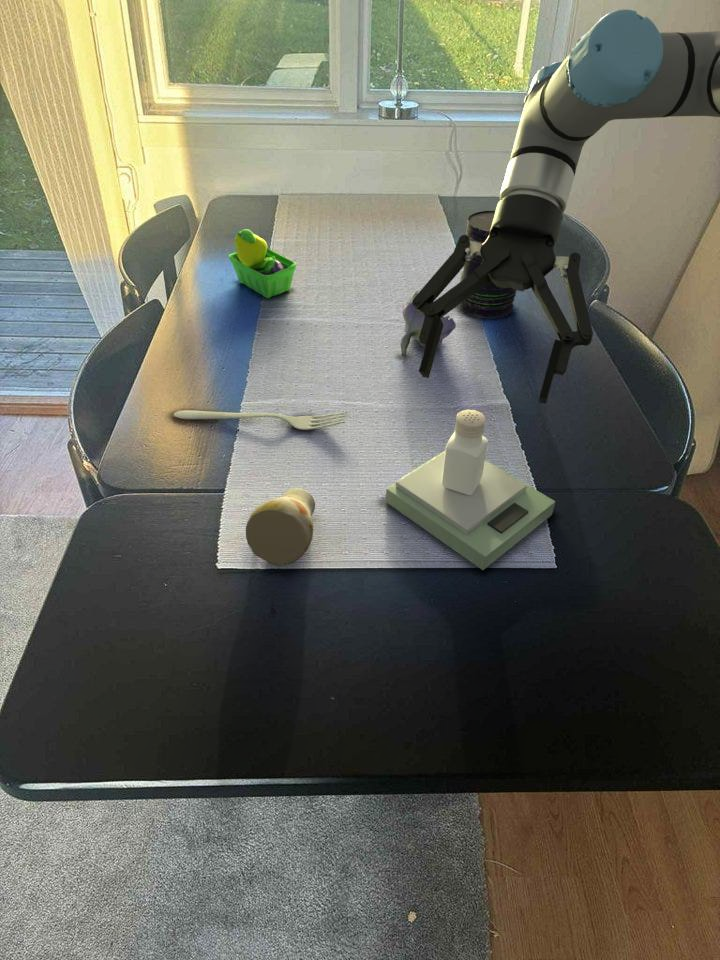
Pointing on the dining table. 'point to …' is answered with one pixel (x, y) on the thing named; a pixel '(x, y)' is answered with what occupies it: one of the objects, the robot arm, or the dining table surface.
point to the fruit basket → (261, 265)
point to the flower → (420, 325)
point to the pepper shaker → (465, 453)
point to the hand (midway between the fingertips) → (481, 387)
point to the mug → (282, 527)
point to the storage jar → (491, 297)
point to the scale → (471, 510)
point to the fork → (296, 422)
